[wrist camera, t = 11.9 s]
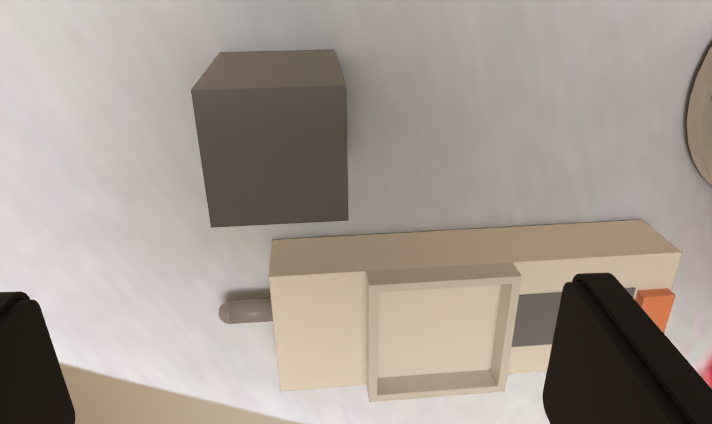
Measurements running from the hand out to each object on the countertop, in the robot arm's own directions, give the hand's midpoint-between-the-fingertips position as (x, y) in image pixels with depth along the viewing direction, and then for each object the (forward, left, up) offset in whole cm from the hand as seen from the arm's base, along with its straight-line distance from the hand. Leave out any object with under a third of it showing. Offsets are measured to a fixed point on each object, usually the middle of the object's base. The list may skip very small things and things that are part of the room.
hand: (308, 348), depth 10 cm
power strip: (-7, +11, -17) cm, 21 cm away
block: (+1, 0, -17) cm, 17 cm away
